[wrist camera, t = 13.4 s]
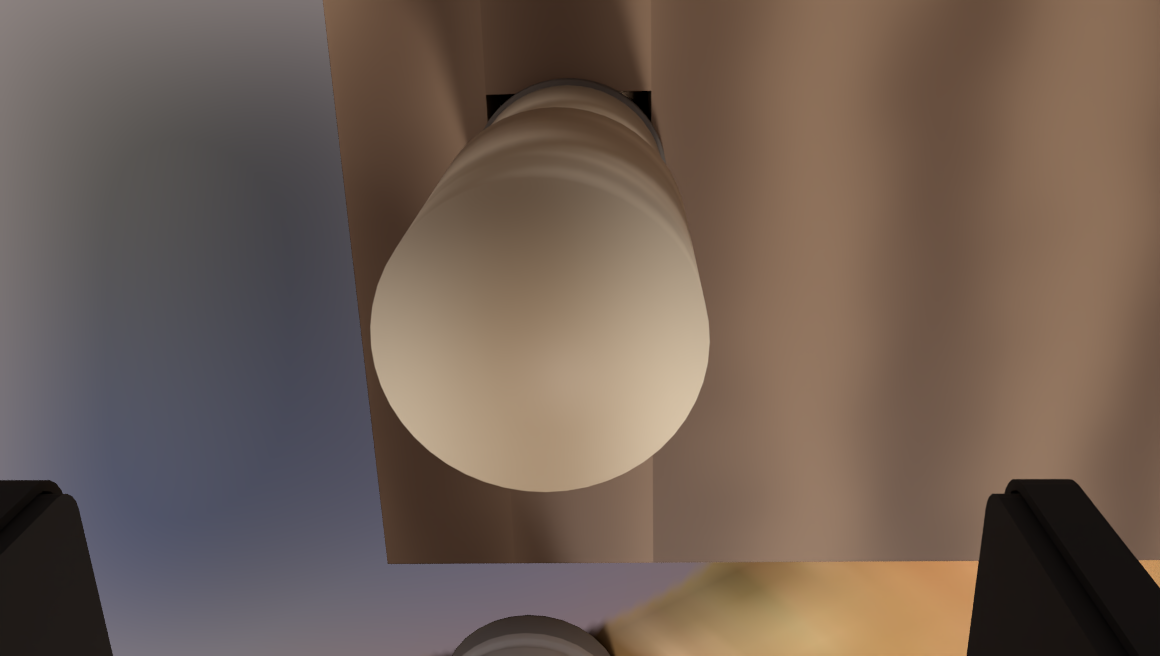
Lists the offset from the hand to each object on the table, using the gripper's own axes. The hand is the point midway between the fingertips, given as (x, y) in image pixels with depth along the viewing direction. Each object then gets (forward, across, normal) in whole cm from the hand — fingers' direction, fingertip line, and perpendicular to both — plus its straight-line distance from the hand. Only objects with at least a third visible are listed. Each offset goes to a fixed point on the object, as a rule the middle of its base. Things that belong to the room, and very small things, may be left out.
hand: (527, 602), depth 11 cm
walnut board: (+21, -5, +3) cm, 22 cm away
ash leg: (+20, +1, 0) cm, 20 cm away
